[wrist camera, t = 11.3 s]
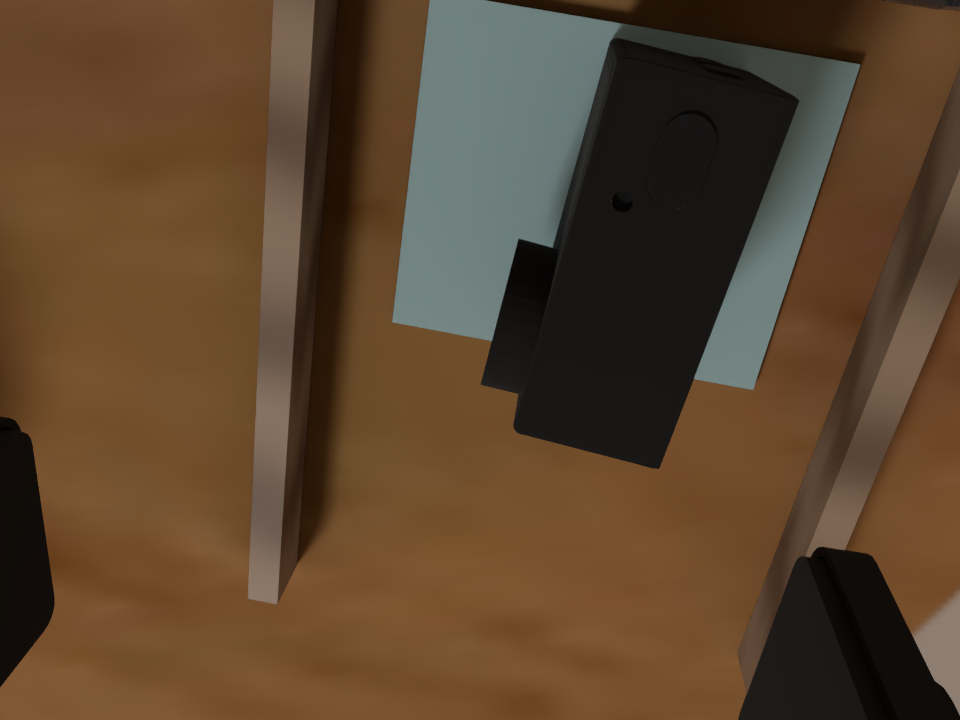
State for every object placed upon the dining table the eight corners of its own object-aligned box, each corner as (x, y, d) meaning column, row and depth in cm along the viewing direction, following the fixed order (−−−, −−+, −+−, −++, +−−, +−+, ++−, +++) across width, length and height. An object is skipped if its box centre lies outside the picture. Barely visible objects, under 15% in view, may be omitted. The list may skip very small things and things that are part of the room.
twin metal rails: (304, -68, 25) (276, -72, 23) (1009, 51, 25) (1052, 60, 22) (269, 559, 36) (248, 598, 33) (766, 659, 35) (778, 706, 33)
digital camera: (574, 21, 25) (570, 36, 19) (749, 66, 25) (803, 96, 19) (495, 329, 30) (470, 424, 23) (643, 367, 30) (659, 473, 23)
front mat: (432, -9, 26) (430, -9, 25) (857, 63, 25) (860, 64, 25) (394, 319, 30) (392, 322, 30) (751, 386, 30) (753, 390, 30)
